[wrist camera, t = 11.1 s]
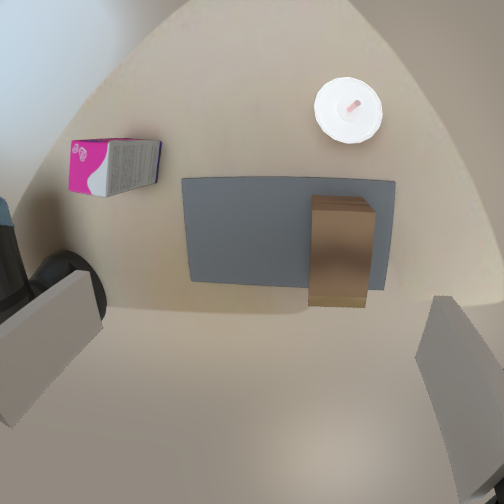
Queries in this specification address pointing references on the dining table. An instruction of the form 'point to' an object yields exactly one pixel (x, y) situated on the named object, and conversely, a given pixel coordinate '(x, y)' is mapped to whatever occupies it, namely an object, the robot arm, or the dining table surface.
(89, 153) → the supplement box
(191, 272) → the slate mat
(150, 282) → the dining table surface
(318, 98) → the beverage cup
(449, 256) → the dining table surface
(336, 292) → the walnut block
